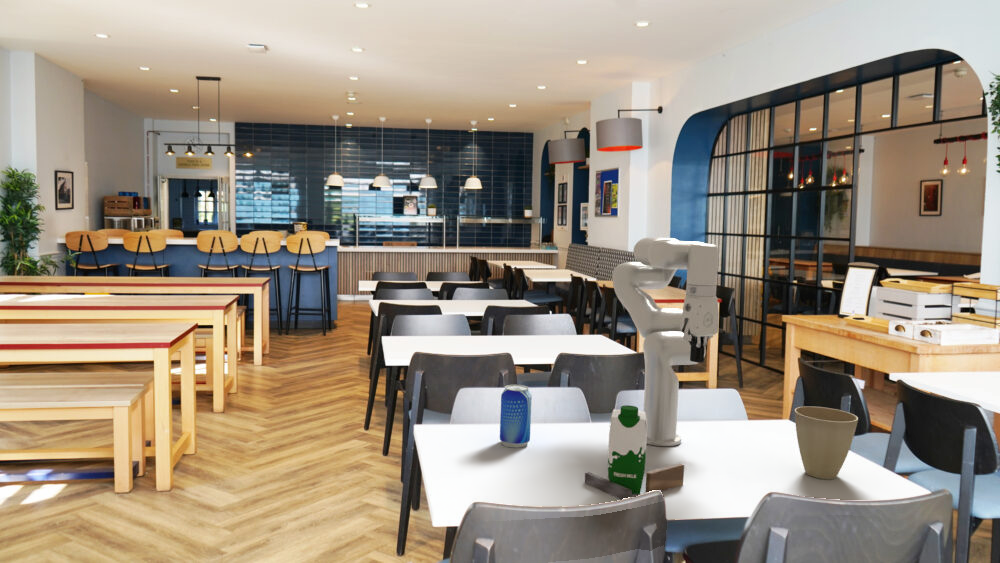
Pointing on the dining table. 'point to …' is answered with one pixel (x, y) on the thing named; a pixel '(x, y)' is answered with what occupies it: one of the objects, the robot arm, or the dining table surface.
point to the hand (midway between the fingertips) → (696, 361)
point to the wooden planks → (654, 481)
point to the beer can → (515, 416)
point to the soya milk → (627, 447)
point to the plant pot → (824, 439)
